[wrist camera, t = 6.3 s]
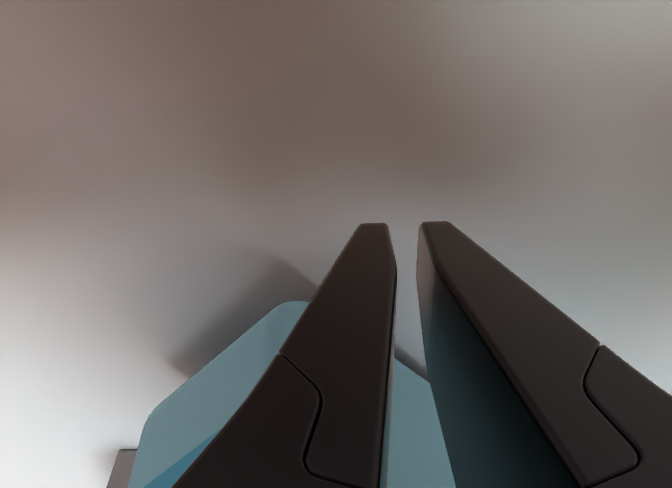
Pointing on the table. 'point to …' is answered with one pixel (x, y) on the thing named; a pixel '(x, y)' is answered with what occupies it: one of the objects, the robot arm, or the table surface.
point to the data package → (237, 382)
